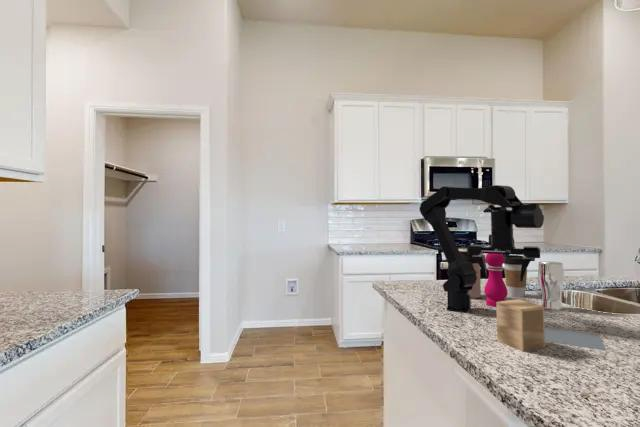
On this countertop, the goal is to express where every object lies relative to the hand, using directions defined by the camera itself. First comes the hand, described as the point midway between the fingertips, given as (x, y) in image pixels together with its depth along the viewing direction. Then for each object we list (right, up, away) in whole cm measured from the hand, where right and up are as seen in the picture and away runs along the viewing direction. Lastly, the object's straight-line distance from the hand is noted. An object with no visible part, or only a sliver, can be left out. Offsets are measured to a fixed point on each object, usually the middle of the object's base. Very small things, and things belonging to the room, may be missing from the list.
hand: (503, 280), depth 99 cm
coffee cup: (+21, -12, +29) cm, 38 cm away
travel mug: (+3, -12, +29) cm, 32 cm away
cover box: (-6, -12, -19) cm, 23 cm away
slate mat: (+8, -12, -15) cm, 21 cm away
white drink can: (+22, -12, +12) cm, 28 cm away
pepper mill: (+7, -12, +17) cm, 22 cm away
